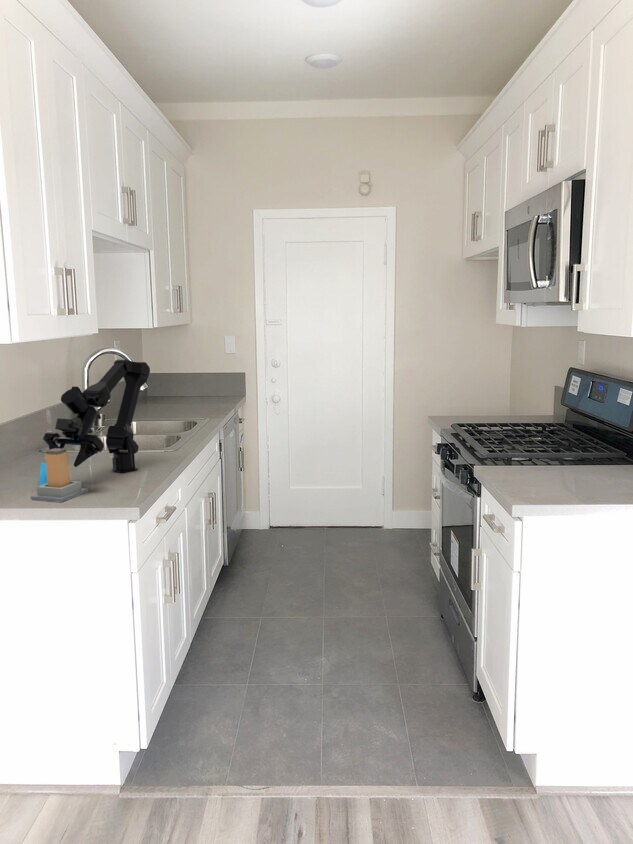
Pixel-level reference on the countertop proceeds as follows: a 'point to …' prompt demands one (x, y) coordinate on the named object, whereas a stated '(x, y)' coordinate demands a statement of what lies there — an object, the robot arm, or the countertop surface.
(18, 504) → the countertop surface
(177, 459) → the countertop surface
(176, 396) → the countertop surface
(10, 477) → the countertop surface
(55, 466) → the block
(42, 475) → the blue block
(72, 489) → the jig cradle
